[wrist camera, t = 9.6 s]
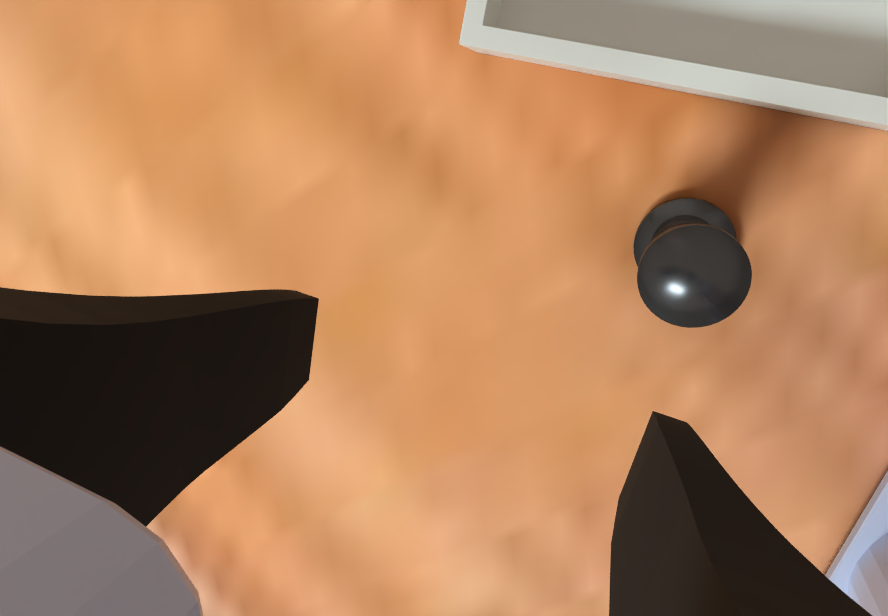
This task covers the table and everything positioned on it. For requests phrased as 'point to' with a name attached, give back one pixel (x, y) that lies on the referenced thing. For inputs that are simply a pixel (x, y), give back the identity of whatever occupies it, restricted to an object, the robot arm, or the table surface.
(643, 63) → the tray
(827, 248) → the table surface
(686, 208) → the knob
